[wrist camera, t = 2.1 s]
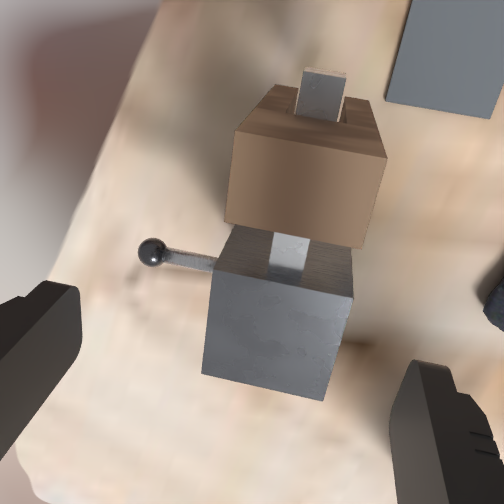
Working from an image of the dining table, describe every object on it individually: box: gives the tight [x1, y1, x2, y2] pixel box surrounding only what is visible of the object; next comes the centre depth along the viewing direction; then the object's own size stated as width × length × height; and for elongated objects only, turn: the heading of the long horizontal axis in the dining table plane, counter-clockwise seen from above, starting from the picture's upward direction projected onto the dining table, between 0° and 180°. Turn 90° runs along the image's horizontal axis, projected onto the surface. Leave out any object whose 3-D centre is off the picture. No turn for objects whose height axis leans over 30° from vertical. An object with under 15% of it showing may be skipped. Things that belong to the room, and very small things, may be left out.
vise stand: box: [138, 66, 354, 401], centre depth 33 cm, size 16×19×17 cm
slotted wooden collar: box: [224, 84, 387, 249], centre depth 24 cm, size 6×4×13 cm, turn 82°
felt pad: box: [385, 0, 504, 119], centre depth 34 cm, size 8×8×1 cm
